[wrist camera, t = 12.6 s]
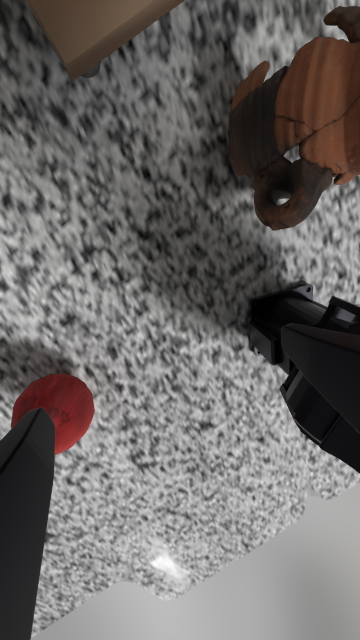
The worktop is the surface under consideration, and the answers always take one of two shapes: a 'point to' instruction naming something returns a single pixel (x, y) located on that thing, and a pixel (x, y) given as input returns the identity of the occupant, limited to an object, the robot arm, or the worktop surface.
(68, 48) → the footed wooden board
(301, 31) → the worktop surface
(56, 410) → the onion
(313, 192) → the brown jagged curved piece
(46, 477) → the robot arm
